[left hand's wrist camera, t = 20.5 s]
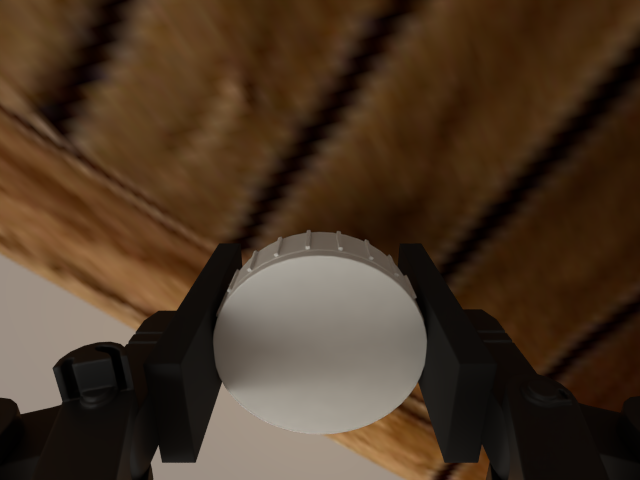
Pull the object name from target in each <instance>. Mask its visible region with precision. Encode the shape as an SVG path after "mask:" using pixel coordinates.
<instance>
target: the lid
mask: <svg viewBox="0 0 640 480" xmlns="http://www.w3.org/2000/svg"><path fill="white" fill-rule="evenodd" d="M228 292H229V293H228ZM415 298H417V297H416V295H415V292H414V290H413V288H412V286H411V284H410V281H409V279H408V277H407V275H405V276H403V274H402V273H401V271H400V270H399V268H398V267H397V266H396V265H395V264H394V262H393V259H392V257H391V256H390V255H388V256H386V255H385V254H384V253H382V252H381V251H380V250H378V249H377V248H375V247H373V246H372V245H370V244H369V241H368V240H366V239H365V241H362V240H359V239H357V238H354V237H350V236H347V235H343V234H341V232H340V231H337V233H330V232H311V230H307V233H302V234H297V235H292V236H289V237H286V238H282V237H279V238H278V240H277V241H276V242H274V243H272V244H270V245H268V246H266V247H265V248H263V249H262V250H260V251H259V252H258V251H257V250H256V251H254V253H253V255H252V258H251V259H249V260H248V261H247V263H246V264H245V265H244V266H243V267H242V268H241V270H240V271H239V270H238V269H237V271H236V272H235V274H234V277H233V279H232V281H231V283H230V285H229V288H228V290H227V292H226V293H225V296H224V298H223V300H222V302H221V305H220V307H219V309H218V311H217V313H216V317H218V318H217V321H216V324H215V328H214V333H213V346H214V356H215V363H216V368H217V371H218V374H219V376H220V378H221V380H222V382H223V384H224V386H225V387H226V389H227V390H228V392H229V393H230V394H231V395H232V397H233V398H234V399H235V400H236V401H237V402H238V403H239V404H240V405H241V406H242V407H243V408H245V409H246V410H247V411H248V412H250V413H251V414H253V415H254V416H256V417H257V418H259V419H261V420H263V421H265V422H267V423H269V424H271V425H273V426H276V427H279V428H282V429H285V430H289V431H293V432H298V433H306V434H335V433H341V432H347V431H351V430H355V429H358V428H361V427H364V426H366V425H369V424H371V423H373V422H375V421H377V420H379V419H381V418H383V417H384V416H386V415H387V414H389V413H390V412H392V411H393V410H394V409H395V408H397V407H398V406H399V405H400V404H401V403H402V402H403V401H404V400H405V399H406V398H407V397H408V396H409V394H410V393H411V392H412V390H413V389H414V387H415V386H416V384H417V382H418V380H419V378H420V376H421V374H422V371H423V368H424V365H425V357H426V349H427V334H426V328H425V324H424V318H423V315H422V313H421V311H420V308H419V306H418V304H417V302H416V299H415Z"/></svg>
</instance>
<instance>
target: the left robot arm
mask: <svg viewBox="0 0 640 480" xmlns="http://www.w3.org/2000/svg"><path fill="white" fill-rule="evenodd" d="M241 268H242V256H241V244H219V245H218V246H217V248H216V249H215V251H214V253H213V254H212V256H211V257H210V259H209V260H208V262H207V264H206V265H205V267H204V268H203V270H202V272H201V273H200V275H199V276H198V278H197V279H196V281H195V283H194V284H193V286H192V287H191V289H190V291H189V292H188V294H187V295H186V297H185V298H184V300H183V302H182V303H181V305H180V306H179V308H178V309H177V311H158V312H156V313H155V314H153V315H152V316H150V317H149V318H147V319H146V320H144V322H143V323H142V324H141V326H140V327H139V328H138V330H137V331H136V334H134V335H133V336H132V338H131V339H130V340H129V343H128V344H127V345H126V346H125V347H124V346H122V345H121V344H118V343H114V342H98V343H94V344H90V345H86V346H83V347H80V348H78V349H76V350H74V351H71V352H70V353H68V354H67V355H65V356H64V357H62V358H61V359H60V360H59V361H58V362H57V363H56V365H55V366H54V367H53V371H54V374H55V378H56V381H57V384H58V388H59V391H60V394H61V398H62V401H63V402H62V405H59V406H55V407H52V408H47V409H43V410H38V411H34V412H29V413H25V414H20V412H19V409H18V406H17V404H16V403H15V402H14V401H13V400H11V399H6V398H0V480H153V473H152V467H151V461H152V458H153V456H154V454H155V452H156V450H157V447H158V445H159V449H160V454H161V459H162V462H163V463H195V462H196V460H197V457H198V454H199V451H200V448H201V444H202V441H203V438H204V435H205V432H206V429H207V426H208V423H209V420H210V417H211V414H212V411H213V408H214V405H215V402H216V399H217V396H218V393H219V389H220V387H221V384H222V380H221V378H220V376H219V374H218V371H217V368H216V363H215V356H214V346H213V333H214V328H215V324H216V321H217V318H218V317H216V313H217V311H218V309H219V307H220V305H221V302H222V300H223V298H224V296H225V293H226V292H227V290H228V288H229V285H230V283H231V281H232V279H233V277H234V274H235V272H236V271H237V269H238V270H239V271H240V270H241ZM398 268H399V270H400V271H401V273H402V274H403V276H405V275H407V277H408V279H409V281H410V284H411V286H412V288H413V290H414V292H415V295H416V297H417V298H415V299H416V302H417V304H418V306H419V308H420V311H421V313H422V315H423V318H424V324H425V328H426V334H427V349H426V357H425V365H424V368H423V371H422V374H421V376H420V378H419V380H418V383H419V386H420V389H421V392H422V395H423V398H424V401H425V404H426V407H427V410H428V413H429V416H430V419H431V422H432V426H433V429H434V432H435V435H436V438H437V441H438V444H439V447H440V450H441V453H442V456H443V459H444V462H445V463H478V460H479V455H480V450H481V445H483V447H484V449H485V451H486V454H487V456H488V458H489V460H490V463H489V467H488V472H487V477H486V480H640V396H637V397H630V398H629V399H628V400H626V401H625V402H624V404H623V407H622V410H621V412H620V413H619V412H614V411H610V410H605V409H601V408H596V407H592V406H587V405H584V404H580V403H578V401H577V400H576V398H575V397H574V396H573V394H572V393H571V392H570V391H569V390H568V389H567V388H565V387H564V386H563V385H562V384H560V383H558V382H556V381H554V380H552V379H550V378H548V377H545V376H542V375H538V374H537V373H536V372H535V370H534V369H533V368H532V366H531V365H530V364H529V362H528V361H527V360H526V358H525V357H524V356H523V354H522V353H521V352H520V350H519V349H518V348H517V346H516V345H515V344H514V343H512V340H511V338H510V337H509V336H508V334H507V333H505V330H504V329H503V328H502V326H501V325H500V324H499V322H498V321H497V320H496V319H495V318H494V317H492V316H491V315H489V314H488V313H486V312H485V311H483V310H463V309H462V307H461V306H460V304H459V303H458V301H457V300H456V298H455V296H454V295H453V293H452V292H451V290H450V289H449V287H448V285H447V284H446V282H445V281H444V279H443V277H442V276H441V274H440V273H439V271H438V270H437V268H436V266H435V265H434V263H433V262H432V260H431V259H430V257H429V255H428V254H427V252H426V251H425V249H424V247H423V246H422V244H400V247H399V259H398ZM228 293H229V292H228Z"/></svg>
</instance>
